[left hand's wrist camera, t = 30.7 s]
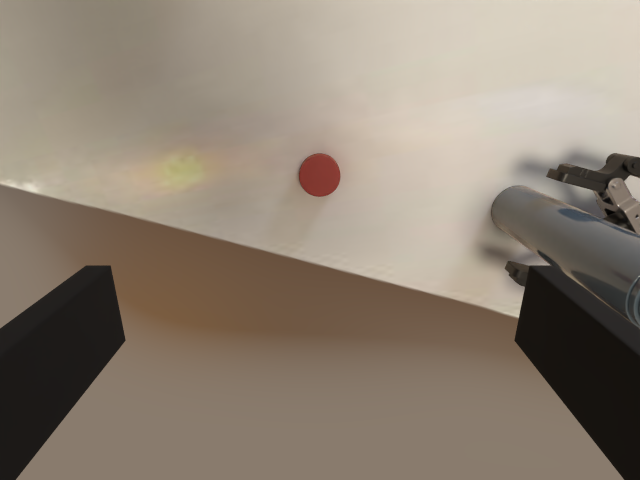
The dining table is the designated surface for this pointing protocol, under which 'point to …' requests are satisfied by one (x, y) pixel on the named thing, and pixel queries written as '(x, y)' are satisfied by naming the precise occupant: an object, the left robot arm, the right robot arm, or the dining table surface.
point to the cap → (319, 175)
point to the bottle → (576, 245)
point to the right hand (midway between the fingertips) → (530, 223)
